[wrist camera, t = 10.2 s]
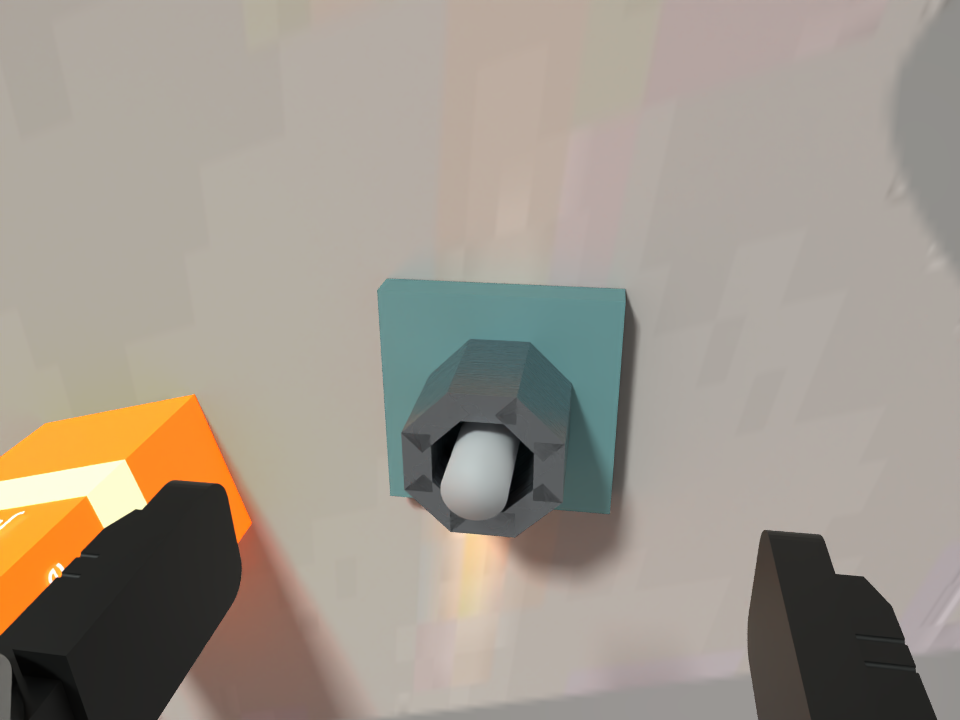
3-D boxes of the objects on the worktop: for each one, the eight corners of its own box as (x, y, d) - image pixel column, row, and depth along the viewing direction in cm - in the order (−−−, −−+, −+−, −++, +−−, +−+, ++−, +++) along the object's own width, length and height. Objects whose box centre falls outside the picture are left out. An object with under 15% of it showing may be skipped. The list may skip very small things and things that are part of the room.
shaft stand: (624, 289, 32) (628, 372, 25) (609, 495, 36) (609, 617, 29) (386, 278, 34) (325, 354, 26) (398, 478, 38) (347, 590, 31)
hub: (573, 344, 32) (566, 400, 27) (567, 470, 34) (561, 541, 30) (428, 336, 33) (398, 389, 28) (432, 460, 35) (406, 527, 31)
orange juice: (42, 421, 40) (-430, 770, 22) (194, 391, 38) (-191, 751, 20) (110, 547, 43) (-260, 948, 25) (254, 526, 40) (-34, 948, 22)
